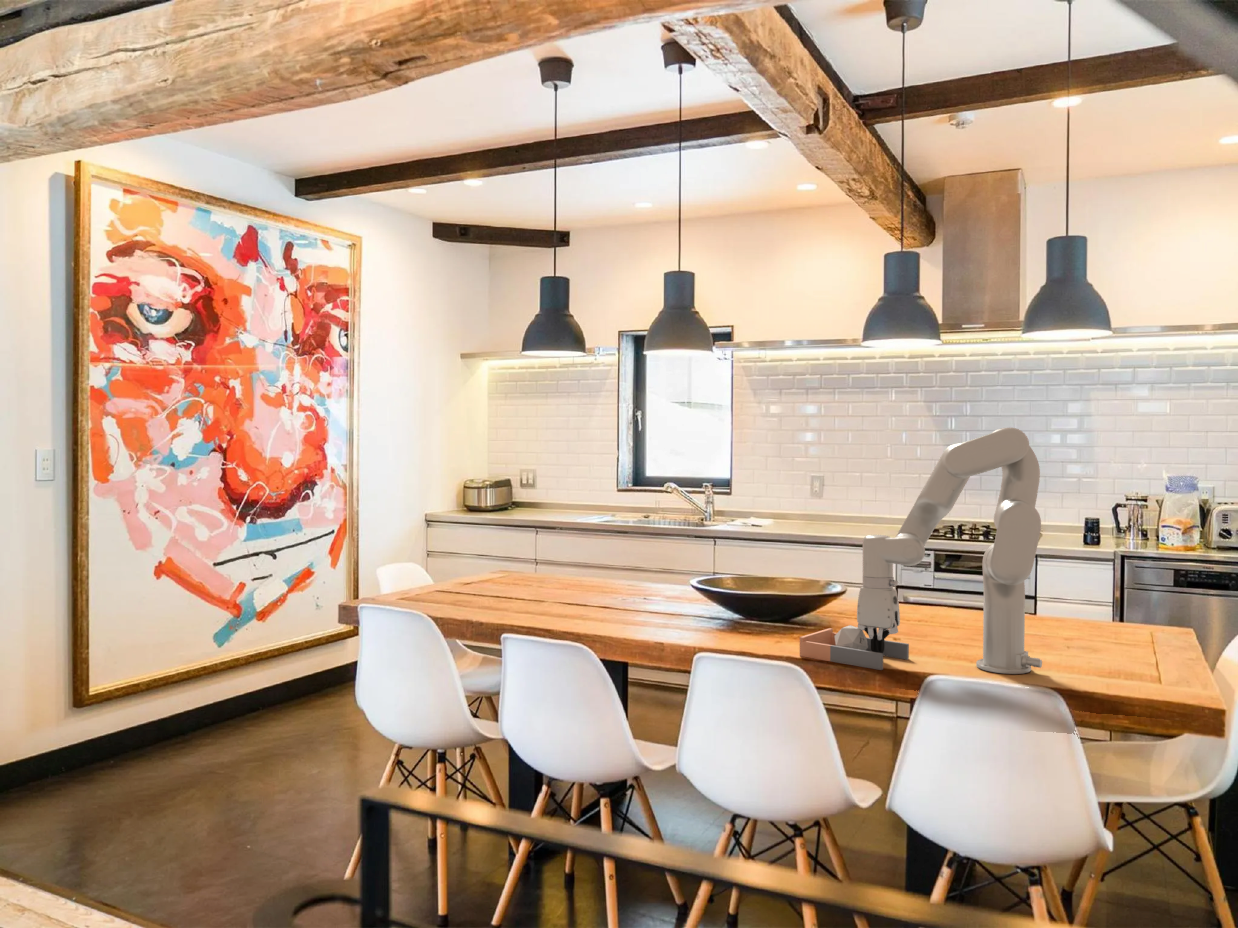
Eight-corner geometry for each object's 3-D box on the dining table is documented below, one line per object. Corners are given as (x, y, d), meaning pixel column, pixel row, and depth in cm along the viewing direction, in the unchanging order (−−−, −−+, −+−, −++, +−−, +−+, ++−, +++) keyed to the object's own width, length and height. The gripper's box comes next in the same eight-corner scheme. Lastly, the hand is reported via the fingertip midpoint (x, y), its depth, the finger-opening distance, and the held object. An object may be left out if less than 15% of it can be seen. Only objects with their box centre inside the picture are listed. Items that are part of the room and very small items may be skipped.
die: (834, 661, 237) (855, 635, 233) (823, 639, 244) (843, 613, 241) (858, 670, 240) (879, 644, 236) (847, 647, 247) (867, 622, 244)
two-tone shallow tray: (908, 659, 237) (908, 640, 237) (881, 670, 225) (881, 650, 225) (829, 646, 252) (829, 628, 252) (799, 655, 240) (799, 637, 240)
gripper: (911, 584, 232) (911, 656, 232) (858, 579, 242) (858, 647, 242) (898, 587, 226) (898, 661, 226) (844, 582, 236) (844, 652, 236)
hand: (877, 654), depth 234 cm, fingers closed
